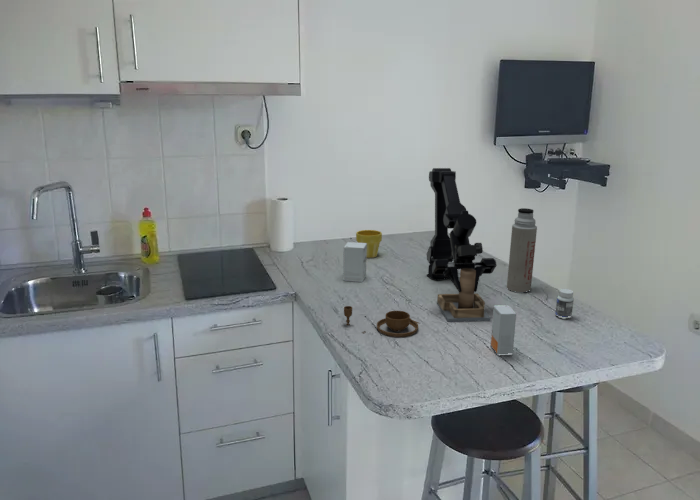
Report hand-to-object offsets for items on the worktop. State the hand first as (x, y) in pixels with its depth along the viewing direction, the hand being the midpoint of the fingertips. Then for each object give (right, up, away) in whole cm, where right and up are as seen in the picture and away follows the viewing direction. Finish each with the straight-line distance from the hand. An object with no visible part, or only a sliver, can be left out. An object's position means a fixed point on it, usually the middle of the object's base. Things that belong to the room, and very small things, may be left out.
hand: (467, 291), depth 174 cm
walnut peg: (0, -6, +3) cm, 7 cm away
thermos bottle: (+23, -1, +27) cm, 35 cm away
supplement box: (-33, +2, +36) cm, 49 cm away
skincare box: (+5, -15, -20) cm, 25 cm away
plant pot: (-28, +10, +64) cm, 70 cm away
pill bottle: (+30, -8, +3) cm, 31 cm away
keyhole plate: (0, -7, +6) cm, 9 cm away
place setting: (-25, -10, -4) cm, 27 cm away
